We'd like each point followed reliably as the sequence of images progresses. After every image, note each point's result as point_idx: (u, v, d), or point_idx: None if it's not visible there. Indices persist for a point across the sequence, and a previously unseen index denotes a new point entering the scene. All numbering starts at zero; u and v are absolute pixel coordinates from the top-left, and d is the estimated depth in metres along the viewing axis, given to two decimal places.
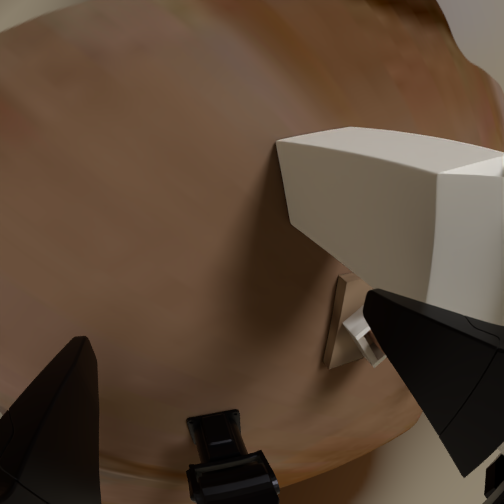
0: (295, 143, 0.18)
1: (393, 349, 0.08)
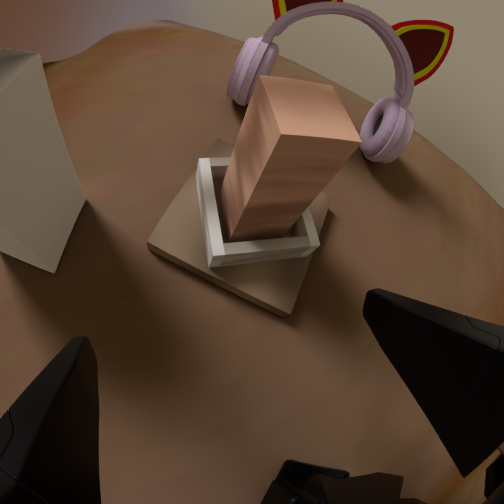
0: None
1: (393, 349, 0.08)
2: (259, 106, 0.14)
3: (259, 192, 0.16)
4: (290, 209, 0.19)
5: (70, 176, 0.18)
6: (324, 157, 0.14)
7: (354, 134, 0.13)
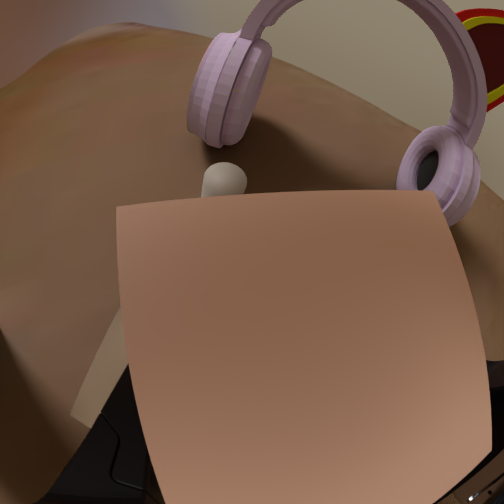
0: None
1: None
2: None
3: None
4: None
5: None
6: None
7: (483, 435, 0.03)
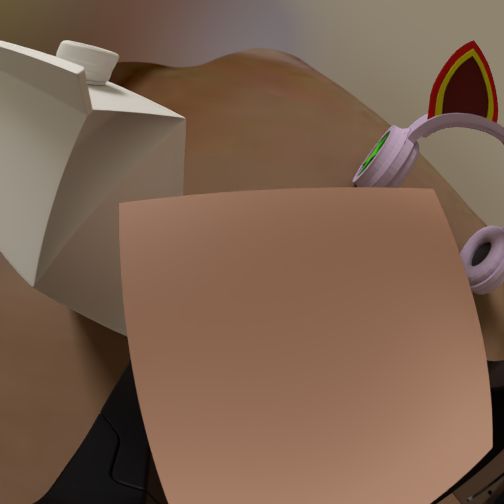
0: None
1: None
2: None
3: None
4: None
5: None
6: None
7: (483, 432, 0.03)
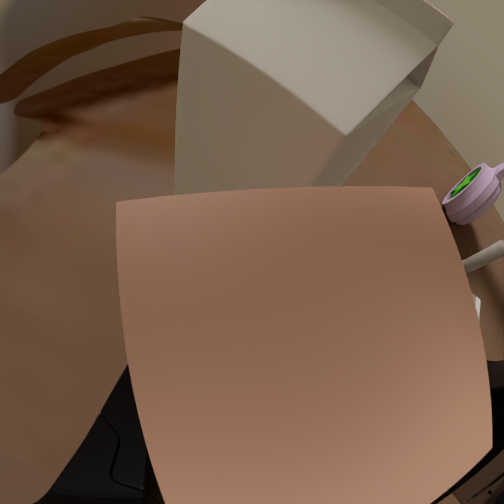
0: (175, 190, 0.18)
1: None
2: None
3: None
4: None
5: None
6: None
7: (483, 433, 0.03)
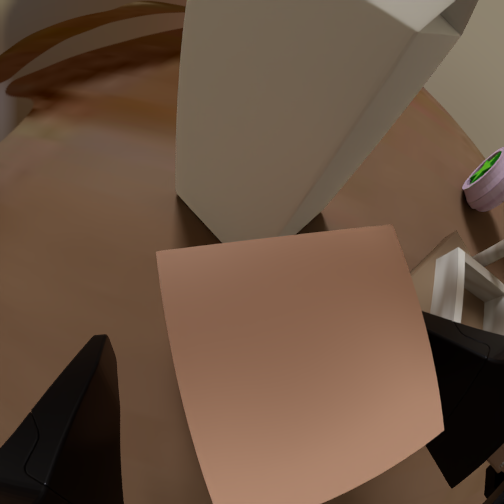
0: (176, 157, 0.15)
1: None
2: None
3: None
4: None
5: (346, 179, 0.16)
6: None
7: (433, 416, 0.04)
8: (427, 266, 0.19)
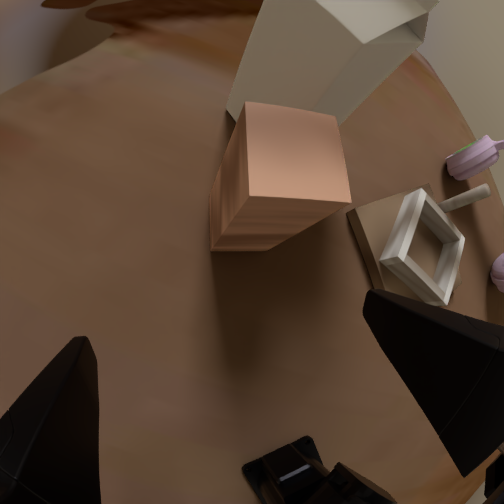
0: (233, 84, 0.21)
1: (393, 349, 0.08)
2: (240, 141, 0.12)
3: (234, 228, 0.15)
4: (272, 237, 0.18)
5: (342, 119, 0.22)
6: (305, 210, 0.13)
7: (344, 191, 0.12)
8: (396, 197, 0.26)
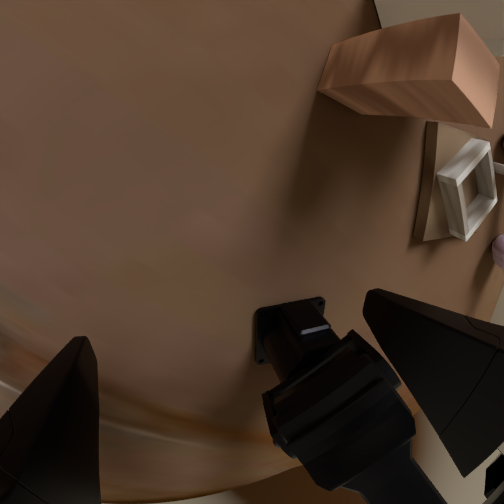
0: None
1: (393, 349, 0.08)
2: (441, 33, 0.08)
3: (385, 85, 0.13)
4: (393, 108, 0.16)
5: None
6: (458, 111, 0.11)
7: (491, 118, 0.10)
8: (466, 134, 0.23)
